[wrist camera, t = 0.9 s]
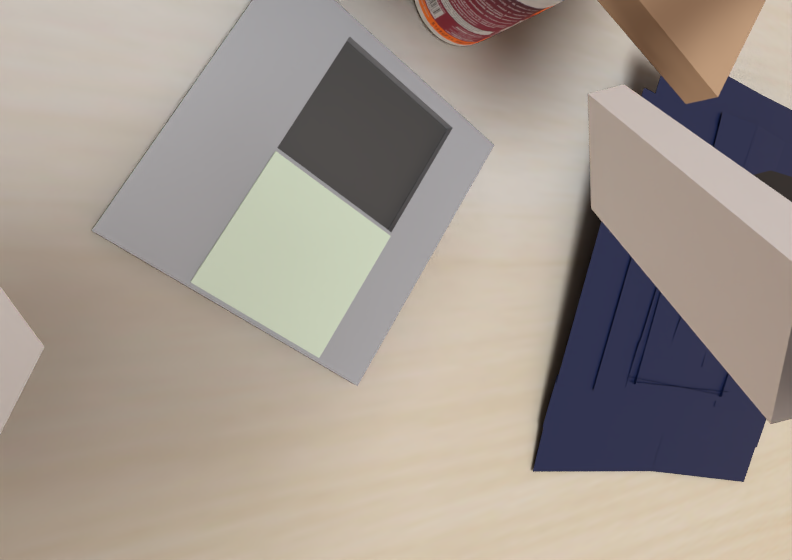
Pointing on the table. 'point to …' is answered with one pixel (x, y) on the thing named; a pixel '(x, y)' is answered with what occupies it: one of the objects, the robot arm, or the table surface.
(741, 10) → the cubby
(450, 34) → the pill bottle
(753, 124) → the navy blue folder
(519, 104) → the table surface
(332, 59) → the board
